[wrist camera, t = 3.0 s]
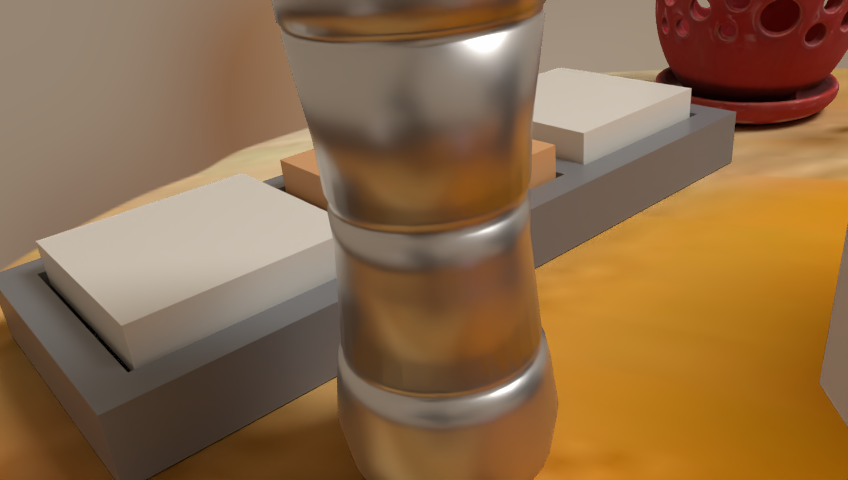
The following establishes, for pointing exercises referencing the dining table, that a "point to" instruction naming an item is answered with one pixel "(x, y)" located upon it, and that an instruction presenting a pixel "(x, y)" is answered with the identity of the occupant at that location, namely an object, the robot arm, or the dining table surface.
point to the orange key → (308, 187)
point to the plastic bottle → (430, 229)
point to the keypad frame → (305, 316)
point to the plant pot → (754, 54)
